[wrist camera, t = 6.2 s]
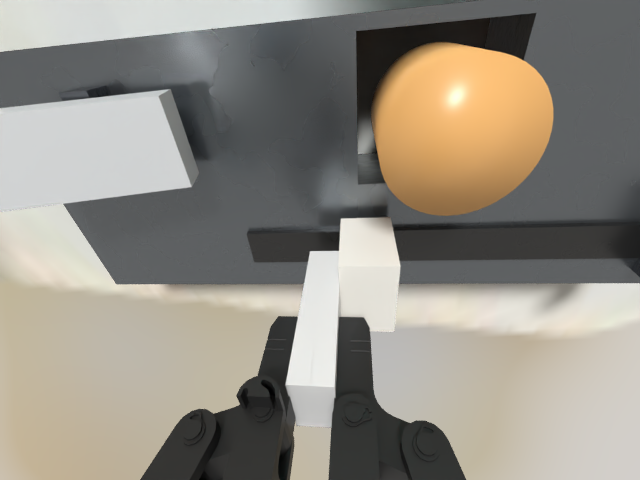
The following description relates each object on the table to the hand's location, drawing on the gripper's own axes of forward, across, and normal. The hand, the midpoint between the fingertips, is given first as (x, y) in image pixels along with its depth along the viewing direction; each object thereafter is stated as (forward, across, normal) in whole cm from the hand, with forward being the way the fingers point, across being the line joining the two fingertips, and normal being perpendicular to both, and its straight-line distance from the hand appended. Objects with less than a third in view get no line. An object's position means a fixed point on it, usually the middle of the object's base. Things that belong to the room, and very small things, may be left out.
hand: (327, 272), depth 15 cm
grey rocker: (0, -10, +7) cm, 12 cm away
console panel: (+6, +2, +4) cm, 7 cm away
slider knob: (+2, +2, 0) cm, 2 cm away
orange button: (+3, +5, +7) cm, 9 cm away
